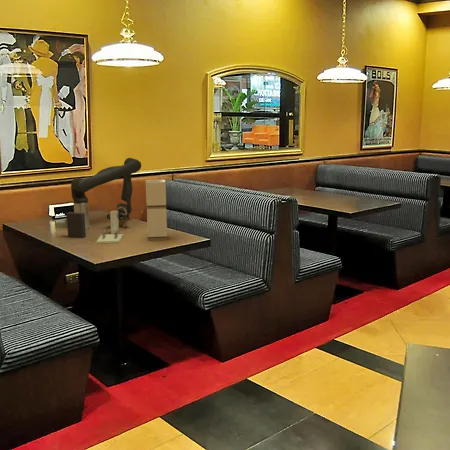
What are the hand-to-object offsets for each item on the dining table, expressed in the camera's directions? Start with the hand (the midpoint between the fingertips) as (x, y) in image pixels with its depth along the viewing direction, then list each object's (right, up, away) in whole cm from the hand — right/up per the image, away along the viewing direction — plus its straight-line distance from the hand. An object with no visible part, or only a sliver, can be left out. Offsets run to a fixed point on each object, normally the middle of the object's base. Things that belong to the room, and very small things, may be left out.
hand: (116, 218), depth 355 cm
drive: (0, -10, -6) cm, 11 cm away
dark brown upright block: (-21, -12, -15) cm, 29 cm away
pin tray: (+1, -13, -24) cm, 27 cm away
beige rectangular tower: (+29, -13, -20) cm, 37 cm away
